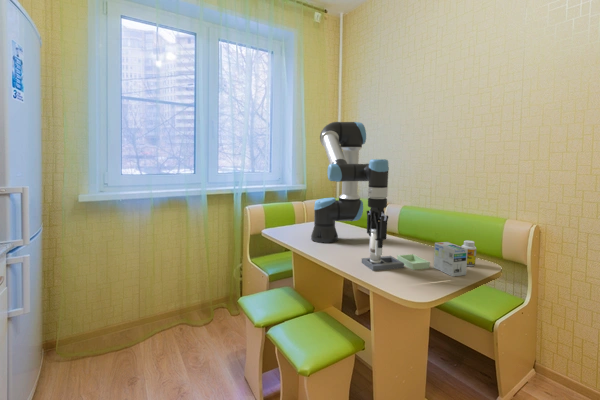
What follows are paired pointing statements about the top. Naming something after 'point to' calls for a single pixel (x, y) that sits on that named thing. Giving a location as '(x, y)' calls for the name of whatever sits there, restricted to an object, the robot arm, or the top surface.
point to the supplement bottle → (470, 252)
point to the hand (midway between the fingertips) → (375, 253)
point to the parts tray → (413, 261)
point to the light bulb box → (450, 258)
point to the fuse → (373, 257)
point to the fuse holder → (383, 263)
